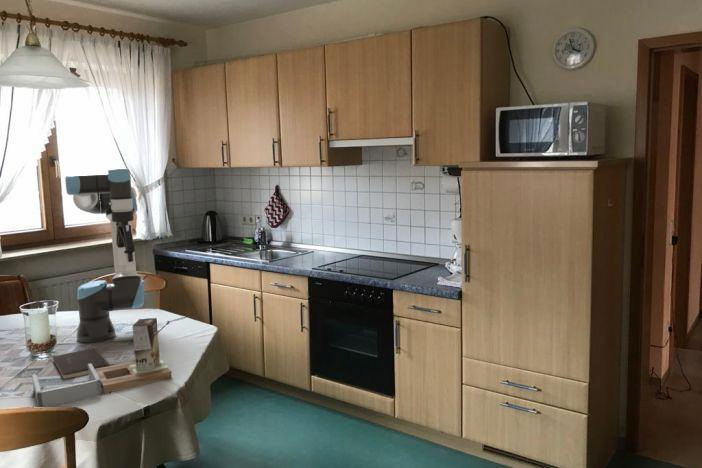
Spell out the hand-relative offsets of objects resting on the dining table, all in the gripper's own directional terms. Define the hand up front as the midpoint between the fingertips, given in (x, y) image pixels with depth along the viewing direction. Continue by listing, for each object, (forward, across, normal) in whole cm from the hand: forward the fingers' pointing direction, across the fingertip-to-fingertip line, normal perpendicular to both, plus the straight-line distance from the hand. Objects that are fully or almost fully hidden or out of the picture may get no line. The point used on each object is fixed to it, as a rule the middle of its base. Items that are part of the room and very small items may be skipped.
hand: (126, 267), depth 229 cm
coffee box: (+32, +21, 0) cm, 38 cm away
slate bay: (+35, +22, -26) cm, 49 cm away
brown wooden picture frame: (+35, +21, -5) cm, 41 cm away
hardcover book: (+36, -3, -18) cm, 40 cm away
